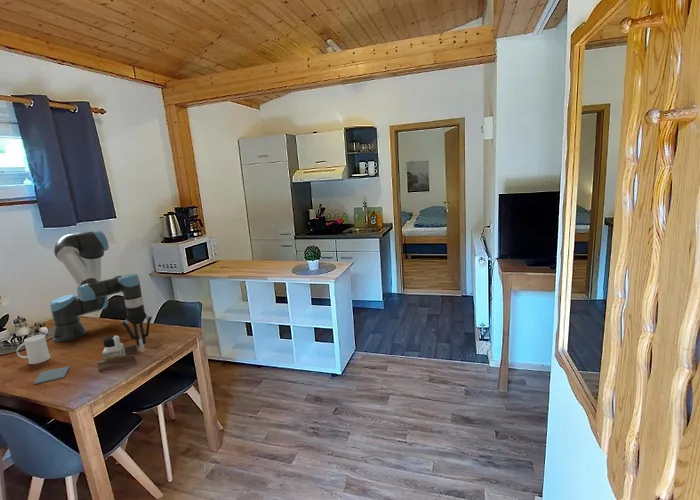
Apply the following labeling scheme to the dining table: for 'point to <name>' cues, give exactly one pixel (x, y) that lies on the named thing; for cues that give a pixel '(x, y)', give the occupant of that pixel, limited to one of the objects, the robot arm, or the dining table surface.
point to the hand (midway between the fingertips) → (142, 350)
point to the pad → (51, 375)
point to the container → (113, 348)
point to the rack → (119, 359)
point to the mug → (35, 349)
